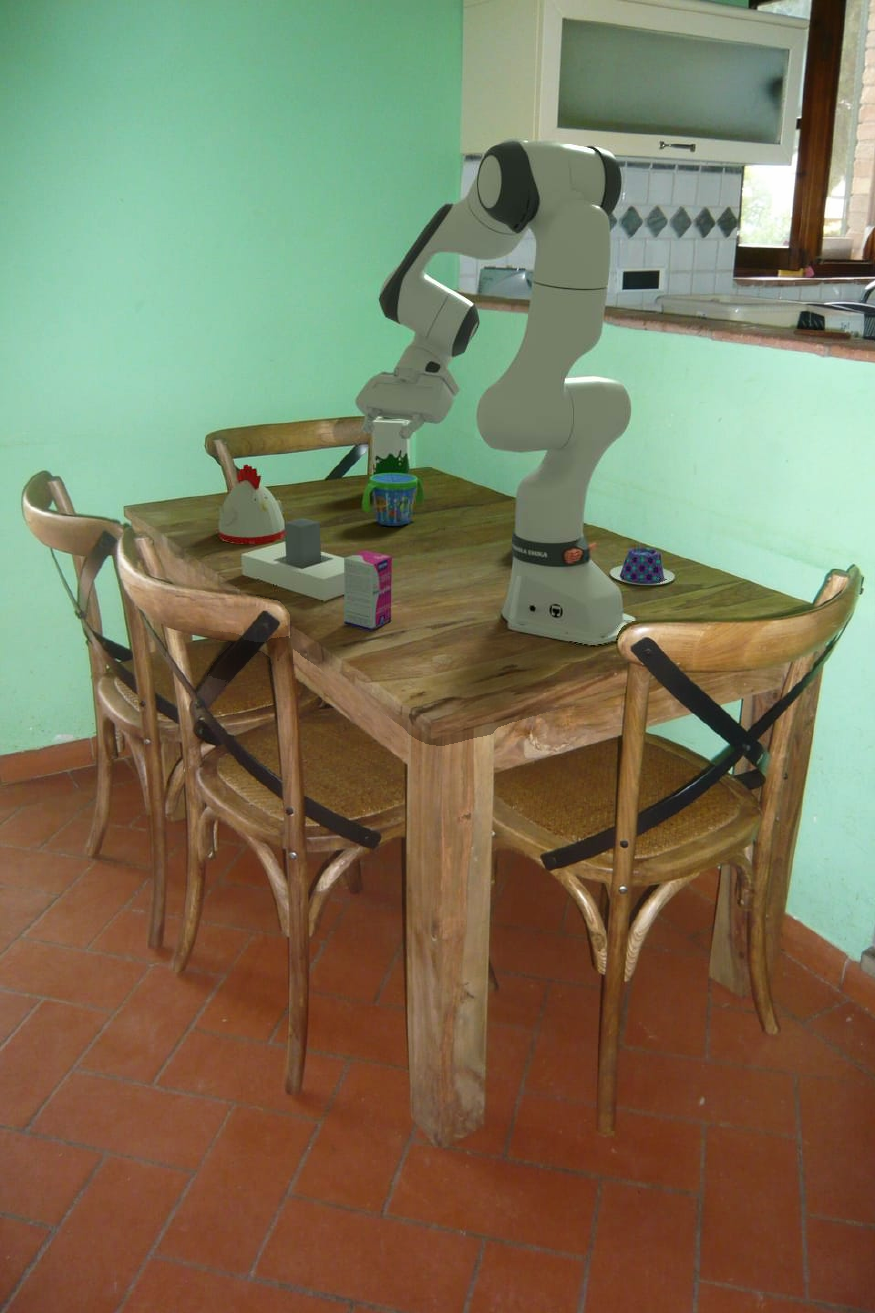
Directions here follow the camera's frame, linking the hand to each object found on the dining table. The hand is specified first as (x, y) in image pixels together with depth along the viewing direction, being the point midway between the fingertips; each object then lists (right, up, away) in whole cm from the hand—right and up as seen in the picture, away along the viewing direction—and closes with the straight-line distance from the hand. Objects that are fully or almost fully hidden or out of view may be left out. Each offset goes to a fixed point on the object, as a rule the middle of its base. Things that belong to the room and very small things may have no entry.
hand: (384, 434), depth 184 cm
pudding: (+48, -27, +3) cm, 55 cm away
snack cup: (0, -12, +36) cm, 38 cm away
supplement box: (-1, -36, -20) cm, 41 cm away
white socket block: (-15, -27, 0) cm, 31 cm away
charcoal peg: (-15, -27, 0) cm, 31 cm away
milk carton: (-1, -1, +62) cm, 62 cm away
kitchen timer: (-29, -16, +27) cm, 43 cm away
